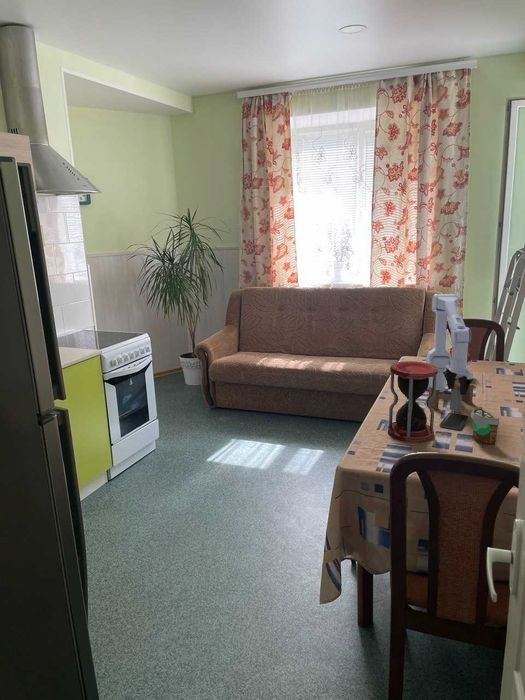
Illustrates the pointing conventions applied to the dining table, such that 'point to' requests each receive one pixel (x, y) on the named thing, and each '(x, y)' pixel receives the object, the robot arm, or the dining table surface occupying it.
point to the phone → (454, 421)
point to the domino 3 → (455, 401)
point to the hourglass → (412, 401)
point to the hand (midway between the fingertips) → (456, 391)
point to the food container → (484, 426)
